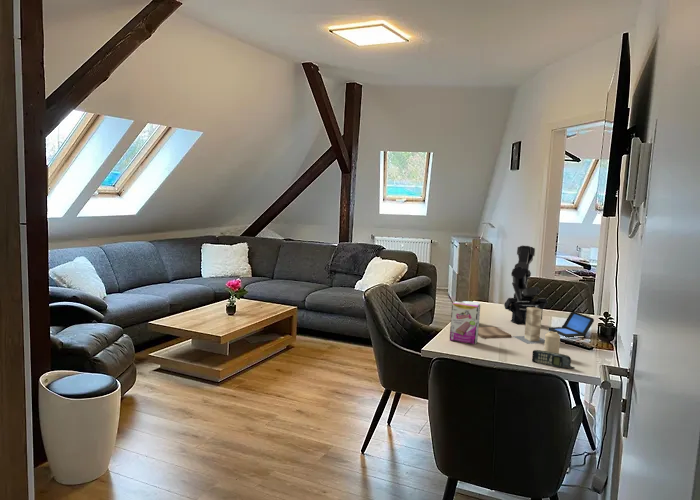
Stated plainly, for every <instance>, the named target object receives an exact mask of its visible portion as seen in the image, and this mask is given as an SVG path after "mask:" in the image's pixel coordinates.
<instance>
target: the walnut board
mask: <svg viewBox="0 0 700 500" xmlns="http://www.w3.org/2000/svg"><path fill="white" fill-rule="evenodd" d="M478 337H479V338H481V339H499V338H500V339H501V338H502V339H503V338H512V334H510V333H509V332H506V331H505V330H502V329H500V328H499V327H496V326H484V327H483V326H482V327H481V326H479V327H478Z"/></svg>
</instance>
